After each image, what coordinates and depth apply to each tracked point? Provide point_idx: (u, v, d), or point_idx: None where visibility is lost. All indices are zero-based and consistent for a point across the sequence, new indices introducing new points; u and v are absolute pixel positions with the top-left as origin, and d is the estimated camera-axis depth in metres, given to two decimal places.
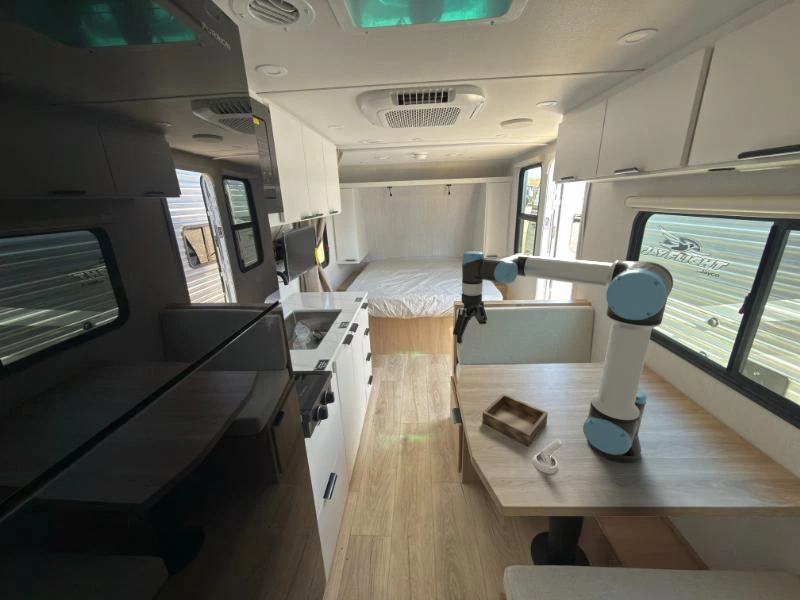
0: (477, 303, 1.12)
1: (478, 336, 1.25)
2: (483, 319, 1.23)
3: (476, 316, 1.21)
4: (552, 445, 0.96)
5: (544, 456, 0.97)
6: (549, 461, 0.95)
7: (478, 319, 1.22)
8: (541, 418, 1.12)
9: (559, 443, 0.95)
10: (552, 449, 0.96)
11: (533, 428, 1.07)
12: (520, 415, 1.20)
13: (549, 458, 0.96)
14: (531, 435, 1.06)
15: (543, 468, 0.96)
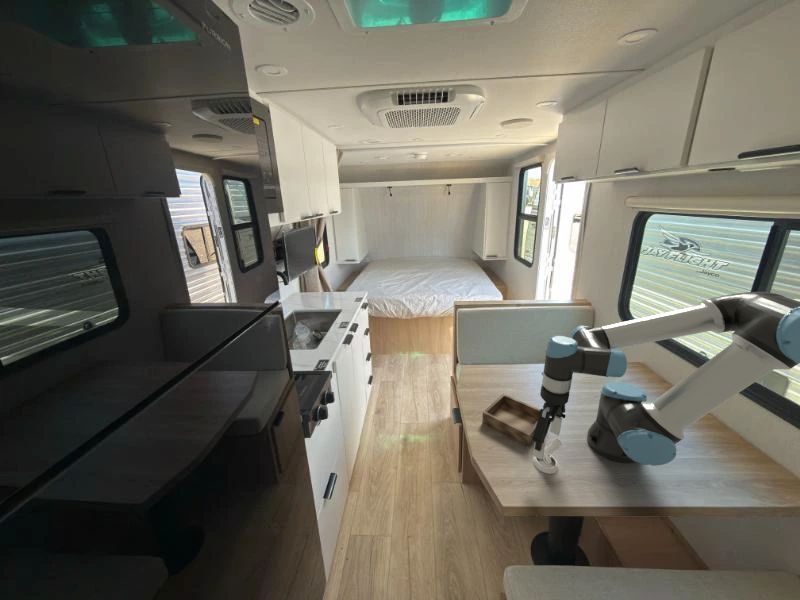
0: (564, 403, 0.88)
1: (553, 431, 1.01)
2: (562, 412, 0.98)
3: None
4: (552, 445, 0.96)
5: (544, 456, 0.97)
6: (549, 461, 0.95)
7: None
8: None
9: (559, 443, 0.95)
10: (552, 449, 0.96)
11: (533, 428, 1.07)
12: (520, 415, 1.20)
13: (549, 458, 0.96)
14: (531, 435, 1.06)
15: (543, 468, 0.96)
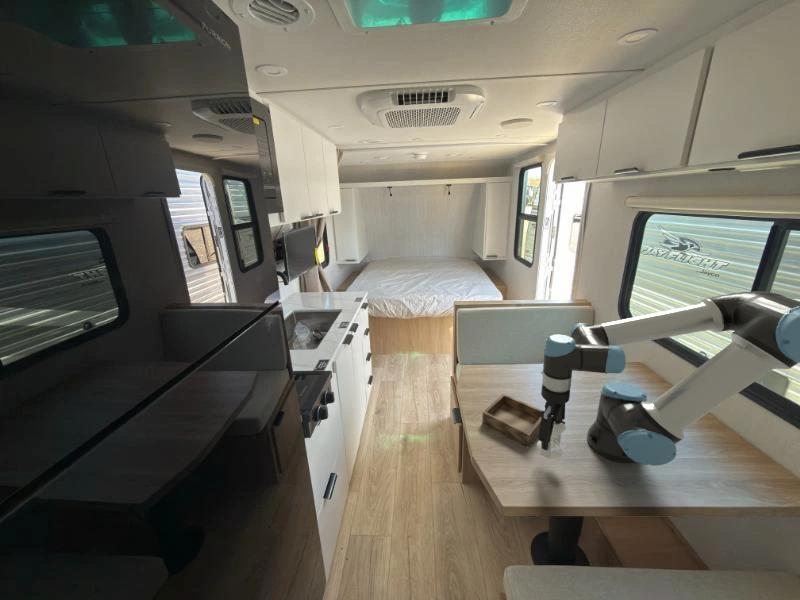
0: (565, 401, 0.88)
1: None
2: (562, 418, 0.97)
3: None
4: (556, 429, 0.94)
5: None
6: (553, 445, 0.93)
7: None
8: None
9: (563, 427, 0.93)
10: (556, 433, 0.94)
11: (533, 428, 1.07)
12: (520, 415, 1.20)
13: (553, 442, 0.94)
14: (531, 435, 1.06)
15: None
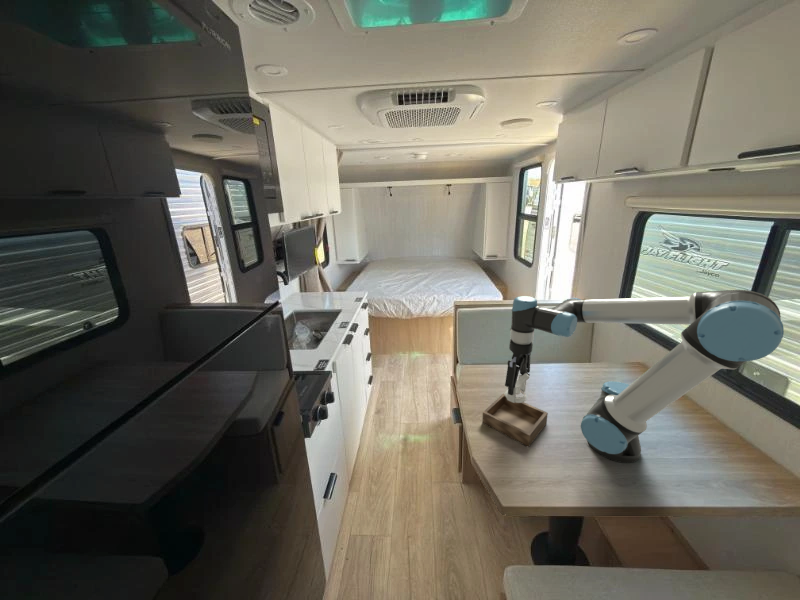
0: (528, 352, 1.04)
1: None
2: (527, 371, 1.13)
3: None
4: (521, 378, 1.11)
5: None
6: (518, 392, 1.10)
7: (522, 370, 1.13)
8: (541, 418, 1.12)
9: (527, 376, 1.09)
10: (521, 381, 1.10)
11: (533, 428, 1.07)
12: (520, 415, 1.20)
13: (518, 389, 1.10)
14: (531, 435, 1.06)
15: None
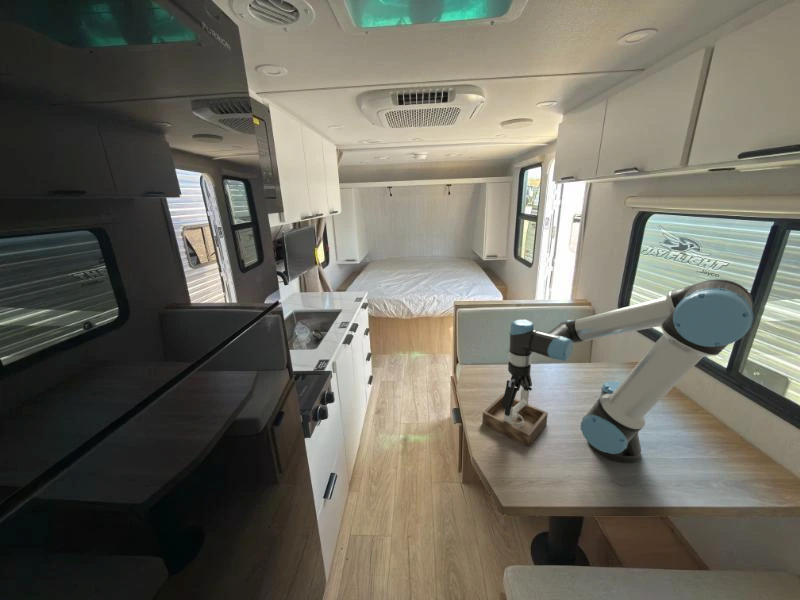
0: (526, 374, 1.07)
1: None
2: (529, 386, 1.17)
3: (522, 383, 1.15)
4: (519, 404, 1.14)
5: (512, 414, 1.15)
6: (516, 417, 1.14)
7: (523, 386, 1.17)
8: (541, 418, 1.12)
9: (524, 402, 1.13)
10: (518, 408, 1.14)
11: (533, 428, 1.07)
12: None
13: (516, 415, 1.14)
14: (531, 435, 1.06)
15: None
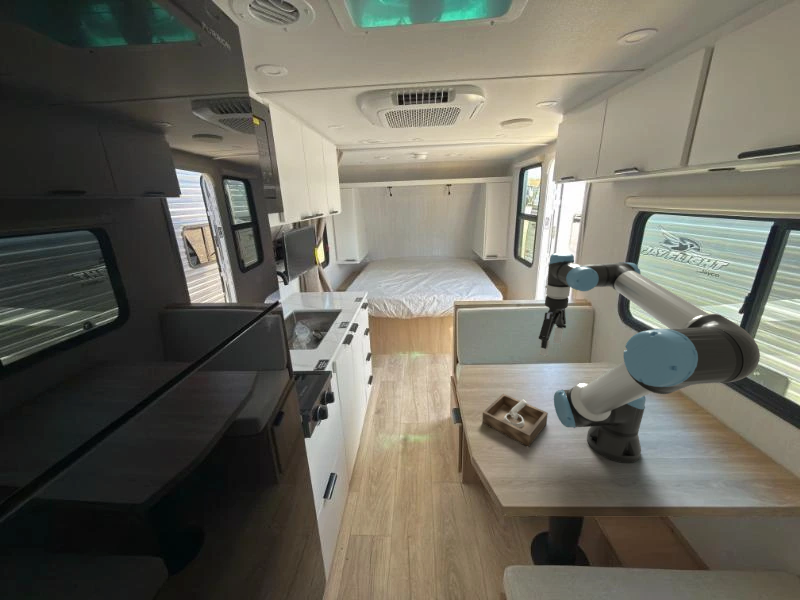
0: (564, 307, 1.08)
1: (556, 340, 1.21)
2: (563, 323, 1.19)
3: (557, 320, 1.17)
4: (518, 404, 1.14)
5: (512, 414, 1.15)
6: (516, 418, 1.14)
7: (558, 323, 1.18)
8: (541, 418, 1.12)
9: (524, 402, 1.13)
10: (518, 408, 1.14)
11: (533, 428, 1.07)
12: None
13: (516, 415, 1.14)
14: (531, 435, 1.06)
15: None
